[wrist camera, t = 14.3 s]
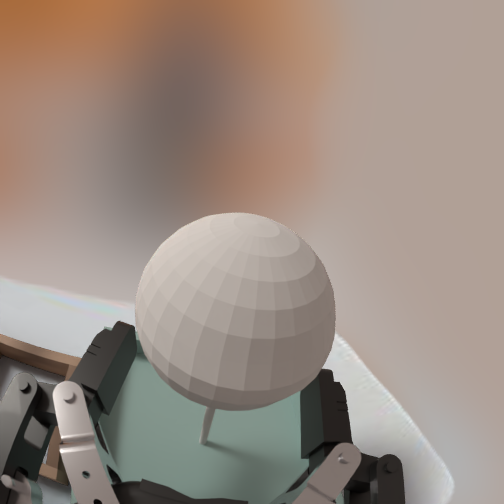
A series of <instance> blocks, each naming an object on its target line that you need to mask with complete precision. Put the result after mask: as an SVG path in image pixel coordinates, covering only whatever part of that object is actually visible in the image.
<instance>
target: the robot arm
mask: <svg viewBox="0 0 504 504" xmlns="http://www.w3.org/2000/svg"><path fill="white" fill-rule="evenodd" d="M136 353H137V342H136V334H135V327H134V326H133V325H130V324H127V323H124V322H121V321H117V322H116V324H115V325H114V327H113V328H112V330H109V329H106V328H105V329H104V330H102V331H101V332H100V333H98V334H97V335H96V336H95V338H94V339H93V341H92V343H91V345H90V346H89V347H88V349H87V352H85V354H84V355H83V357H82V359H81V360H80V362H79V364H78V365H77V367H76V369H75V370H74V372H73V374H72V376H71V377H70V378H69V379H68V380H67V381H64V382H61V383H59V384H58V385H53V384H47V383H42V382H37V381H36V379H35V378H34V377H33V376H32V375H31V374H29V373H26V372H22V373H19V374H17V375H16V376H15V377H14V378H13V380H12V381H11V383H10V385H9V387H8V389H7V391H6V392H5V394H4V396H3V398H2V400H1V402H0V504H42V491H41V489H40V487H39V485H38V484H37V483H36V481H37V477H38V474H39V471H40V468H41V465H42V462H43V459H44V456H45V453H46V450H47V447H48V445H49V442H50V439H51V437H52V434H53V431H54V429H55V426H58V427H59V431H60V436H61V443H60V444H59V448H60V453H61V456H62V460H63V463H64V466H65V470H66V473H67V476H68V479H69V482H70V484H71V487H72V490H73V492H74V495H75V497H76V500H77V503H74V504H248V501H243V500H234V499H227V498H208V499H194V498H191V497H189V496H186V495H184V494H182V493H180V492H178V491H176V490H174V489H172V488H170V487H168V486H165V485H161V484H158V483H155V482H152V481H148V480H145V479H142V480H141V481H125V482H124V481H123V479H122V477H121V474H120V472H119V470H118V468H117V466H116V464H115V462H114V460H113V458H112V456H111V454H110V451H109V449H108V446H107V443H106V440H105V437H104V434H103V431H102V428H101V425H100V422H99V418H100V416H101V414H102V413H104V414H106V415H108V416H109V415H110V412H111V410H112V408H113V405H114V403H115V401H116V399H117V396H118V394H119V392H120V390H121V387H122V385H123V383H124V381H125V379H126V377H127V374H128V372H129V370H130V368H131V366H132V364H133V362H134V359H135V357H136ZM346 402H347V400H346V394H345V391H344V389H343V387H342V385H341V384H340V382H334V378H333V372H332V370H329V369H321V370H320V372H319V373H318V375H317V377H316V378H315V379H314V380H313V381H312V382H310V383H309V384H308V385H307V386H306V387H305V388H304V389H302V390H301V392H300V422H301V459H309V465H308V466H307V467H306V468H305V469H304V470H303V471H302V473H301V474H300V475H299V476H298V477H297V478H296V479H295V480H294V481H293V483H292V484H291V485H290V486H289V487H288V488H287V489H286V490H285V491H284V492H283V493H282V494H281V495H279V496H278V497H276V498H275V499H274V500H273V501H272V502H271V503H269V504H336V501H335V500H336V498H337V497H338V495H339V494H340V492H341V491H342V490H343V489H344V504H405V492H404V479H403V469H402V463H401V461H400V459H399V458H398V457H397V456H395V455H392V454H387V455H384V456H382V457H381V458H378V457H374V456H370V455H366V454H363V453H361V452H360V451H359V449H358V448H357V447H356V446H355V445H353V442H352V437H351V429H350V421H349V414H348V412H347V411H348V407H347V404H346Z"/></svg>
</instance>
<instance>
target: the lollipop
mask: <svg viewBox="0 0 504 504" xmlns="http://www.w3.org/2000/svg"><path fill="white" fill-rule="evenodd" d="M335 319H336V318H335V301H334V293H333V289H332V285H331V282H330V280H329V277H328V275H327V272H326V270H325V267H324V265H323V264H322V262H321V260H320V259H319V257H318V256H317V255H316V253H315V252H314V251H313V250H312V248H311V247H310V246H309V245H308V244H307V243H306V242H305V241H304V240H303V239H302V238H301V237H299V236H298V235H297V234H295V233H294V232H293V231H291V230H290V229H289V228H287V227H285V226H284V225H282V224H280V223H278V222H276V221H274V220H271V219H269V218H266V217H262V216H258V215H254V214H247V213H225V214H217V215H211V216H207V217H204V218H201V219H199V220H196V221H194V222H192V223H190V224H188V225H186V226H184V227H182V228H180V229H179V230H178V231H176V232H175V233H174V234H173V235H172V236H171V237H169V238H168V239H167V240H166V241H165V242H163V243H162V244H161V245H160V246H159V248H158V250H157V251H156V252H155V253H154V255H153V256H152V258H151V259H150V261H149V262H148V264H147V265H146V267H145V269H144V272H143V274H142V277H141V280H140V282H139V286H138V290H137V294H136V304H135V321H136V329H137V333H138V336H139V340H140V343H141V346H142V348H143V351H144V354H145V356H146V357H147V359H148V360H149V362H150V363H151V365H152V366H153V368H154V369H155V371H156V372H157V374H158V375H159V376H160V378H161V379H162V380H163V381H164V382H166V383H167V384H168V385H169V386H170V387H171V388H172V389H173V390H174V391H176V392H177V393H179V394H181V395H182V396H184V397H186V398H187V399H189V400H191V401H193V402H196V403H198V404H201V405H204V406H206V411H205V416H204V420H203V425H202V430H201V435H200V439H199V443H200V444H202V445H204V444H206V442H207V438H208V435H209V431H210V428H211V424H212V421H213V417H214V414H215V410H216V409H220V410H226V411H249V410H254V409H258V408H262V407H266V406H269V405H271V404H273V403H275V402H278V401H280V400H283V399H285V398H287V397H289V396H291V395H293V394H295V393H297V392H299V391H301V390H302V389H304V388H305V387H306V386H307V385H308V384H309V383H310V382H312V381H313V380H314V379H315V378H316V377H317V375H318V373H319V372H320V370H321V369H322V367H323V365H324V364H325V362H326V359H327V357H328V355H329V353H330V351H331V348H332V344H333V340H334V335H335Z"/></svg>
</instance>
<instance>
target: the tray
mask: <svg viewBox="0 0 504 504" xmlns="http://www.w3.org/2000/svg"><path fill="white" fill-rule="evenodd" d="M105 328H106V329H109V330H112V328H109V327H104V329H105ZM135 334H136V342H137V353H136V357H135V359H134V362H133V364H132V366H131V368H130V370H129V372H128V374H127V377H126V379H125V381H124V383H123V385H122V387H121V390H120V392H119V394H118V396H117V399H116V401H115V403H114V405H113V408H112V410H111V412H110V415H109V416H108V415H106V414H104V413H102V414H101V416H100V418H99V422H100V425H101V428H102V431H103V434H104V437H105V440H106V443H107V446H108V449H109V451H110V454H111V456H112V458H113V460H114V462H115V464H116V466H117V468H118V470H119V472H120V474H121V477H122V479H123V481H124V482H125V481H141V480H142V479H145V480H148V481H152V482H155V483H158V484H161V485H165V486H168V487H170V488H172V489H174V490H176V491H178V492H180V493H182V494H184V495H186V496H189V497H191V498H194V499H208V498H227V499H234V500H243V501H248V504H269V503H271V502H272V501H273V500H274V499H275V498H276V497H278V496H279V495H281V494H282V493H283V492H284V491H285V490H286V489H287V488H288V487H289V486H290V485H291V484H292V483H293V481H294V480H295V479H296V478H297V477H298V476H299V475H300V474H301V473H302V471H303V470H304V469H305V468H306V467H307V466H308V465H309V459H301V422H300V392H301V391H299V392H297V393H295V394H293V395H291V396H289V397H287V398H285V399H283V400H280V401H278V402H275V403H273V404H271V405H269V406H266V407H262V408H258V409H254V410H249V411H226V410H220V409H216V410H215V414H214V417H213V421H212V424H211V428H210V431H209V435H208V438H207V442H206V444H204V445H202V444H200V443H199V439H200V435H201V430H202V425H203V420H204V416H205V411H206V406H204V405H201V404H198V403H196V402H193V401H191V400H189V399H187V398H186V397H184V396H182V395H181V394H179V393H177V392H176V391H174V390H173V389H172V388H171V387H170V386H169V385H168V384H167V383H166V382H164V381H163V380H162V379H161V378H160V376H159V375H158V374H157V372H156V371H155V369H154V368H153V366H152V365H151V363H150V362H149V360H148V359H147V357H146V356H145V354H144V351H143V348H142V346H141V343H140V340H139V336H138V333H137V332H135ZM335 501H336V504H344V499H343V495H342V492H340V494H339V495H338V497H337V498H336V500H335ZM74 503H77V500H76V497H75V495H74V492H73V490H72V487H71V504H74Z"/></svg>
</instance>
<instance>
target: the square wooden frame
mask: <svg viewBox="0 0 504 504" xmlns="http://www.w3.org/2000/svg"><path fill="white" fill-rule="evenodd" d="M2 355H4V356H6V357H9V358H11V359H14V360H16V361H19V362H22V363H25V364H27V365H30V366H33V367H36V368H39V369H42V370H46V371H49V372H52V373H55V374H59V375H62V376H66V377H65V381H67V380H68V379H69V378H70V377H71V376H72V374H73V372H74V370H75V369H76V367H77V365H78V364H79V362H80V360H81V359H82V358H79V357H74V356H70V355H66V354H62V353H59V352H55V351H51V350H48V349H44V348H41V347H37V346H34V345H31V344H28V343H25V342H22V341H19V340H16V339H13V338H10V337H7V336H5V335H2V334H0V359H1V356H2ZM60 443H61V436H60V431H59V427H58V426H55V429H54V431H53V434H52V437H51V439H50V443H49V449H48V455H47V461H46V464H43V463H42V465H41V468H40V471H39V474H38V475H41V476H43V477H45V478H48V479H51V480H53V481H56V482H58V483H61V484H64V485H67V486H68V480H69V479H68V476H67V473H66V470H65V466H64V463H63V460H62V456H61V453H60V448H59V444H60Z"/></svg>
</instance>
